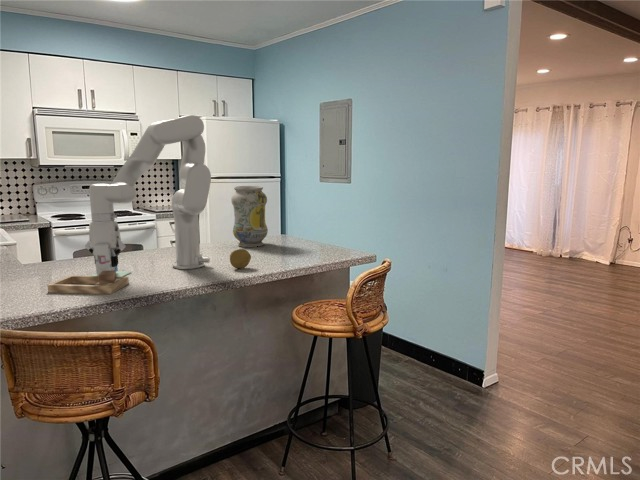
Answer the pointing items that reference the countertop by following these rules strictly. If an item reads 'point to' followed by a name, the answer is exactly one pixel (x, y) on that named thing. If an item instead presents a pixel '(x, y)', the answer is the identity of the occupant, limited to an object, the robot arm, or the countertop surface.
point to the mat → (118, 273)
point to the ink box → (103, 258)
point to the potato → (240, 258)
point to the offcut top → (107, 276)
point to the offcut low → (106, 283)
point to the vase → (249, 215)
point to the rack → (65, 286)
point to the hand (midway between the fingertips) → (106, 265)
